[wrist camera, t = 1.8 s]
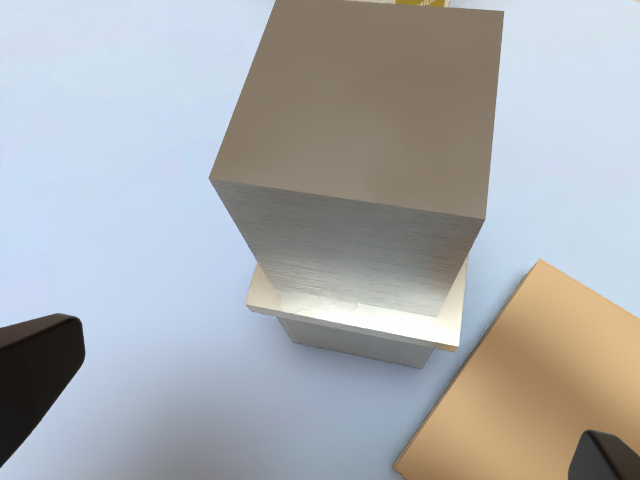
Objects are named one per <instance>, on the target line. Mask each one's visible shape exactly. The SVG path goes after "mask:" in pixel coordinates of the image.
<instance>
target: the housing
mask: <svg viewBox="0 0 640 480" xmlns="http://www.w3.org/2000/svg"><path fill="white" fill-rule="evenodd" d="M503 18H504V11H494V10H479V9H464V8H449V7H434V6H419V5H404V4H389V3H374V2H360V1H345V0H276V1H275V4H274V7H273V9H272V12H271V15H270V17H269V20H268V23H267V25H266V28H265V30H264V33H263V36H262V38H261V41H260V44H259V46H258V49H257V52H256V54H255V57H254V60H253V62H252V65H251V68H250V70H249V73H248V75H247V78H246V81H245V83H244V86H243V89H242V91H241V94H240V97H239V99H238V102H237V105H236V107H235V110H234V112H233V115H232V118H231V120H230V123H229V126H228V128H227V131H226V134H225V136H224V139H223V142H222V144H221V147H220V150H219V152H218V155H217V157H216V160H215V163H214V165H213V168H212V171H211V173H210V176H209V180H210V182H211V183H212V185H213V187H214V188H215V190H216V192H217V194H218V195H219V197H220V199H221V200H222V202H223V204H224V205H225V207H226V209H227V210H228V212H229V214H230V216H231V217H232V219H233V221H234V222H235V224H236V226H237V227H238V229H239V231H240V233H241V234H242V236H243V238H244V239H245V241H246V243H247V244H248V246H249V248H250V250H251V251H252V253H253V255H254V256H255V258H256V260H257V261H258V262H257V265H256V269H255V272H254V275H253V279H252V282H251V285H250V289H249V292H248V295H247V298H246V302H245V305H246V306H247V307H248V308H249V310H250V311H252V312H257V313H262V314H267V315H272V316H276V317H277V318H278V320H279V321H280V323H281V324H282V326H283V327H284V329H285V330H286V331H287V333H288V334H289V336H290V337H291V339H292V340H293V342H295V343H300V344H305V345H310V346H315V347H319V348H324V349H329V350H334V351H338V352H343V353H348V354H353V355H357V356H362V357H367V358H372V359H376V360H381V361H386V362H391V363H395V364H400V365H405V366H410V367H414V368H419V369H422V367H423V366H424V364H425V363H426V361H427V359H428V358H429V356H430V354H431V353H432V351H433V350H434V348H436V349H441V350H446V351H451V352H454V351H455V350H456V349H457V348H458V347H459V339H460V329H461V319H462V310H463V300H464V290H465V281H466V271H467V261H468V253H469V251H470V249H471V247H472V245H473V243H474V241H475V239H476V237H477V235H478V233H479V231H480V229H481V227H482V225H483V223H484V221H485V217H486V206H487V195H488V184H489V173H490V162H491V151H492V140H493V129H494V118H495V107H496V96H497V85H498V74H499V63H500V52H501V41H502V29H503Z"/></svg>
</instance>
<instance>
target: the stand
mask: <svg viewBox="0 0 640 480" xmlns="http://www.w3.org/2000/svg"><path fill="white" fill-rule="evenodd" d="M588 429H592V430H597V431H602V432H606V433H611V434H614V435H616V436H617V437H619V438H620V439H621V440H622V441H623V442H624V443H626V444H627V445H628V446H629V447H630V448H631V449H632V450H634V451H635V452H636V453H637V454H638V455H639V456H640V319H639V318H637V317H636V316H634V315H632V314H631V313H629V312H627V311H626V310H624V309H623V308H621V307H619V306H618V305H616V304H614V303H613V302H611V301H609V300H608V299H606V298H604V297H603V296H601V295H599V294H598V293H596V292H594V291H593V290H591V289H590V288H588V287H586V286H585V285H583V284H581V283H580V282H578V281H576V280H575V279H573V278H571V277H570V276H568V275H566V274H565V273H563V272H562V271H560V270H558V269H557V268H555V267H553V266H552V265H550V264H548V263H547V262H545V261H543V260H542V259H539V260H538V262H537V263H536V264H535V265H534V266H533V267H532V268H531V270H530V271H529V272H528V273H527V274H526V275H525V277H524V278H523V279H522V281H521V282H520V284H519V285H518V287H517V288H516V289H515V291H514V292H513V294H512V295H511V297H510V298H509V300H508V301H507V302H506V304H505V305H504V307H503V308H502V310H501V311H500V312H499V314H498V315H497V317H496V318H495V320H494V321H493V323H492V324H491V325H490V327H489V328H488V330H487V331H486V333H485V334H484V335H483V337H482V338H481V340H480V341H479V343H478V344H477V345H476V347H475V348H474V350H473V351H472V353H471V354H470V356H469V357H468V358H467V360H466V361H465V363H464V364H463V366H462V367H461V368H460V370H459V371H458V373H457V374H456V376H455V377H454V379H453V380H452V381H451V383H450V384H449V386H448V387H447V389H446V390H445V391H444V393H443V394H442V396H441V397H440V399H439V400H438V402H437V403H436V404H435V406H434V407H433V409H432V410H431V412H430V413H429V414H428V416H427V417H426V419H425V420H424V422H423V423H422V424H421V426H420V427H419V429H418V430H417V432H416V433H415V435H414V436H413V437H412V439H411V440H410V442H409V443H408V445H407V446H406V447H405V449H404V450H403V452H402V453H401V455H400V456H399V458H398V459H397V460H396V462H395V463H394V465H393V466H392V467H393V468H394V469H395V470H396V471H397V472H399V473H400V474H401V475H402V476H403V477H404V478H405V479H407V480H568V469H569V466H570V463H571V460H572V458H573V455H574V452H575V450H576V447H577V445H578V442H579V439H580V437H581V435H582V433H583V432H584V431H585V430H588Z"/></svg>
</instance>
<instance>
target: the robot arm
mask: <svg viewBox="0 0 640 480" xmlns="http://www.w3.org/2000/svg"><path fill="white" fill-rule="evenodd" d="M84 359H85V344H84V336H83V328H82V323H81V321H80V319H79V318H77V317H75V316H71V315H66V314H61V313H57V314H52V315H48V316H44V317H41V318H37V319H33V320H29V321H25V322H21V323H18V324H14V325H10V326H6V327H2V328H0V468H1V467H2V466H3V465H4V463H5V462H6V461H7V460H8V459H9V458H10V457H11V456H12V455H13V453H14V452H15V451H16V450H17V449H18V448H19V447H20V446H21V444H22V443H23V442H24V441H25V440H26V438H27V437H28V436H29V435H30V434H31V433H32V431H33V430H34V429H35V427H36V426H37V425H38V424H39V422H40V421H41V420H42V418H43V417H44V416H45V414H46V413H47V412H48V410H49V409H50V408H51V406H52V405H53V404H54V402H55V401H56V400H57V398H58V397H59V396H60V394H61V393H62V391H63V390H64V389H65V387H66V386H67V385H68V383H69V382H70V381H71V379H72V378H73V377H74V375H75V374H76V373H77V371H78V370H79V369H80V367H81V366H82V364H83V362H84ZM568 480H640V456H639V455H638V454H637V453H636V452H635V451H634V450H632V449H631V448H630V447H629V446H628V445H627V444H626V443H624V442H623V441H622V440H621V439H620V438H619V437H617V436H616V435H614V434H611V433H606V432H602V431H597V430H592V429H588V430H585V431H584V432H583V433H582V435H581V437H580V439H579V442H578V445H577V447H576V450H575V452H574V455H573V458H572V460H571V463H570V466H569V469H568Z"/></svg>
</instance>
